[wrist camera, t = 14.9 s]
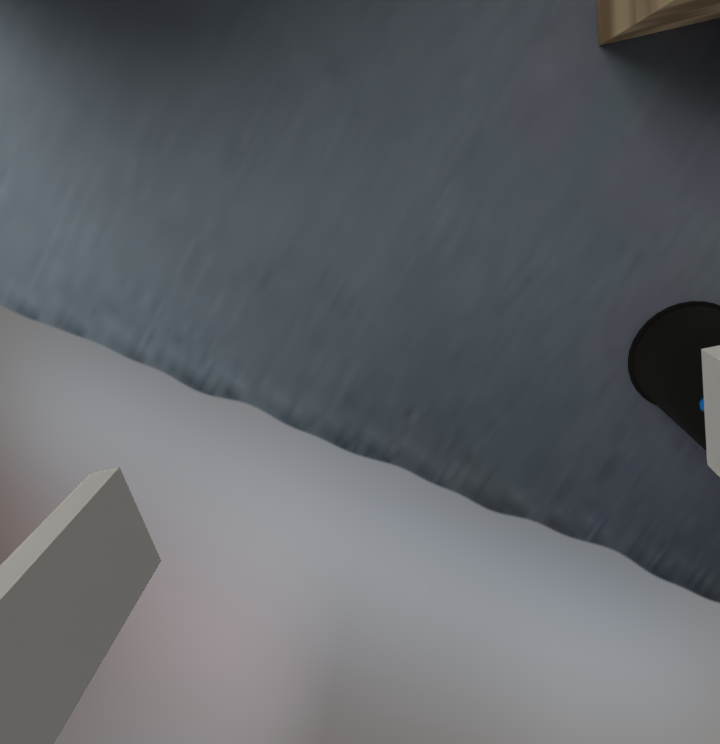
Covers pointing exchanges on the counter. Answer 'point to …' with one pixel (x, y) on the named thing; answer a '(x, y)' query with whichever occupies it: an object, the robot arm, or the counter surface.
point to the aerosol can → (676, 362)
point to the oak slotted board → (649, 16)
